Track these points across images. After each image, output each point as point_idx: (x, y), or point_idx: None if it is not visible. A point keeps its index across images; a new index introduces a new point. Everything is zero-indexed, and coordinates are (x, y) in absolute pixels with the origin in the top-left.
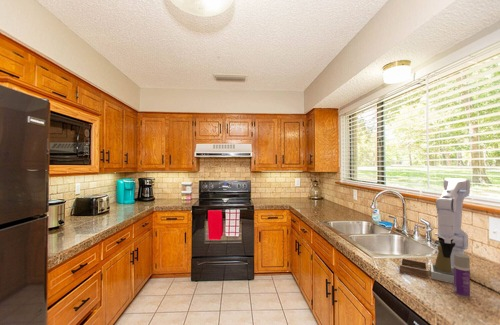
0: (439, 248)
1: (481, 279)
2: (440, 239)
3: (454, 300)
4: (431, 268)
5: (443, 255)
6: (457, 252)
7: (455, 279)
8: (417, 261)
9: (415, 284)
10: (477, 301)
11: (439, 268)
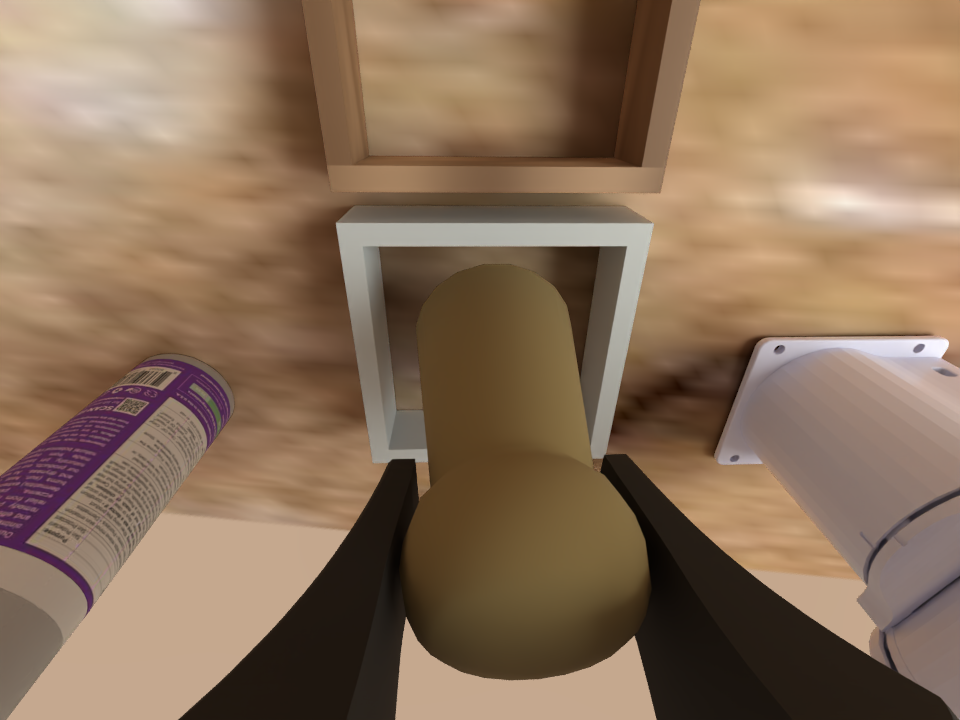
0: (441, 515)
1: None
2: (756, 716)
3: (6, 344)
4: (457, 228)
5: (384, 473)
6: (849, 543)
7: (45, 440)
8: (665, 46)
9: (7, 17)
10: None
11: (423, 316)
